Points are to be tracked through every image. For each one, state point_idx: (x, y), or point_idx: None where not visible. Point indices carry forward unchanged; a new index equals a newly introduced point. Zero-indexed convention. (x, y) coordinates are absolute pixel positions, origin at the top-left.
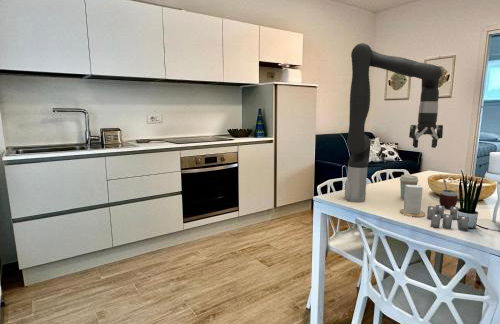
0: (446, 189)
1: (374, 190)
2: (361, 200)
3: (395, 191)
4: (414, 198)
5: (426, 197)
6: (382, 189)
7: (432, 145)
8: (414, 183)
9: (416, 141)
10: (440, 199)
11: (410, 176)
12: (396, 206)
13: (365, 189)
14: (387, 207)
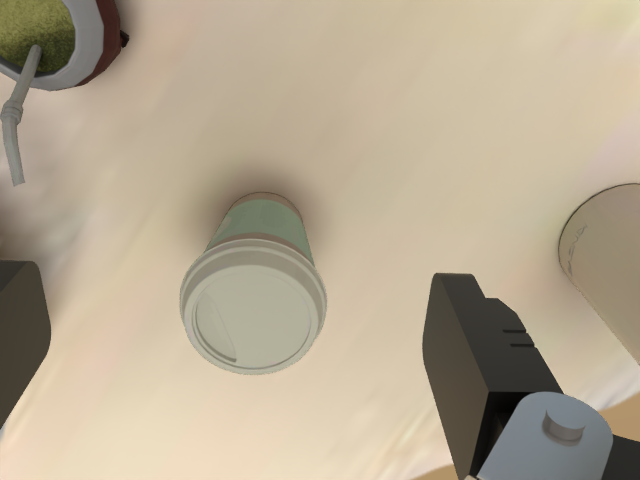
0: (33, 62)
1: (364, 413)
2: (625, 189)
3: (240, 389)
4: None
5: (103, 259)
6: (300, 429)
7: (28, 344)
8: (242, 238)
9: (513, 368)
10: (119, 33)
11: (233, 331)
12: (441, 76)
13: (623, 241)
14: (521, 58)
